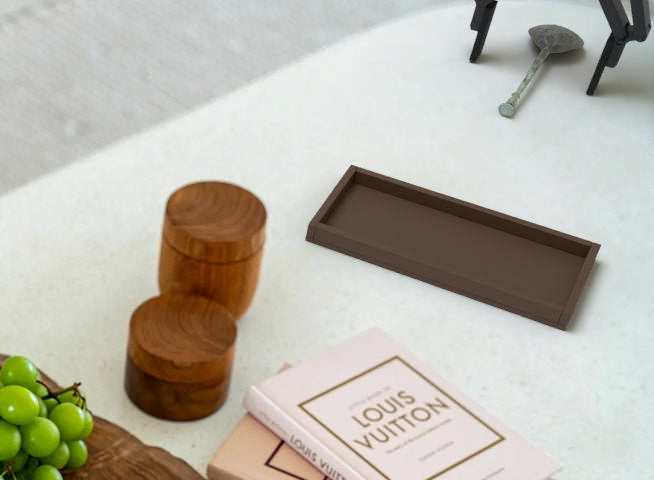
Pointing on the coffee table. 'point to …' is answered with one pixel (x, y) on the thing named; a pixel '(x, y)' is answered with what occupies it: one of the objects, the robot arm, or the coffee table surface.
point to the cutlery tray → (455, 245)
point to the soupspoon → (543, 55)
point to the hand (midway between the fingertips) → (532, 72)
